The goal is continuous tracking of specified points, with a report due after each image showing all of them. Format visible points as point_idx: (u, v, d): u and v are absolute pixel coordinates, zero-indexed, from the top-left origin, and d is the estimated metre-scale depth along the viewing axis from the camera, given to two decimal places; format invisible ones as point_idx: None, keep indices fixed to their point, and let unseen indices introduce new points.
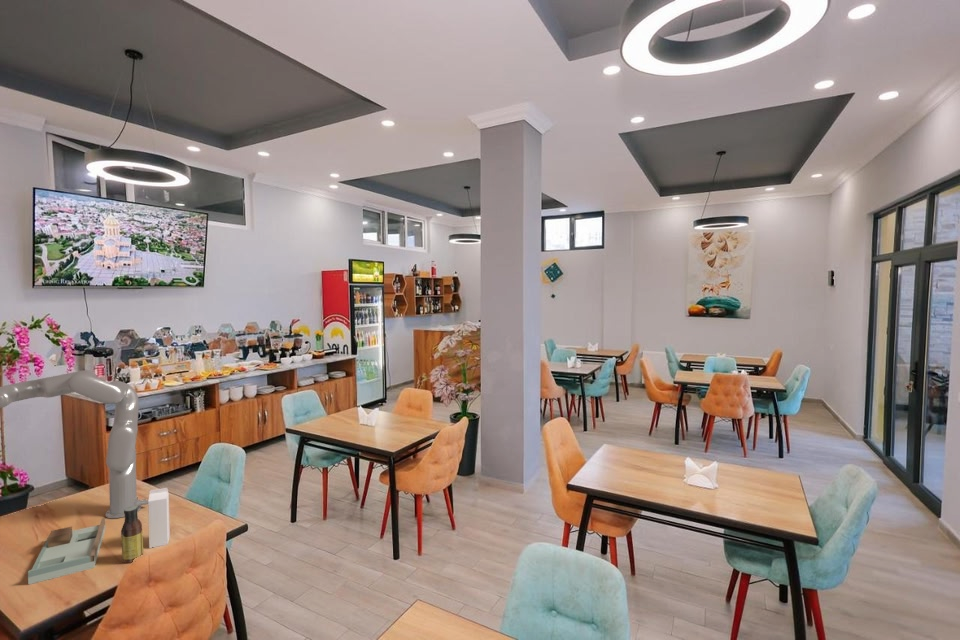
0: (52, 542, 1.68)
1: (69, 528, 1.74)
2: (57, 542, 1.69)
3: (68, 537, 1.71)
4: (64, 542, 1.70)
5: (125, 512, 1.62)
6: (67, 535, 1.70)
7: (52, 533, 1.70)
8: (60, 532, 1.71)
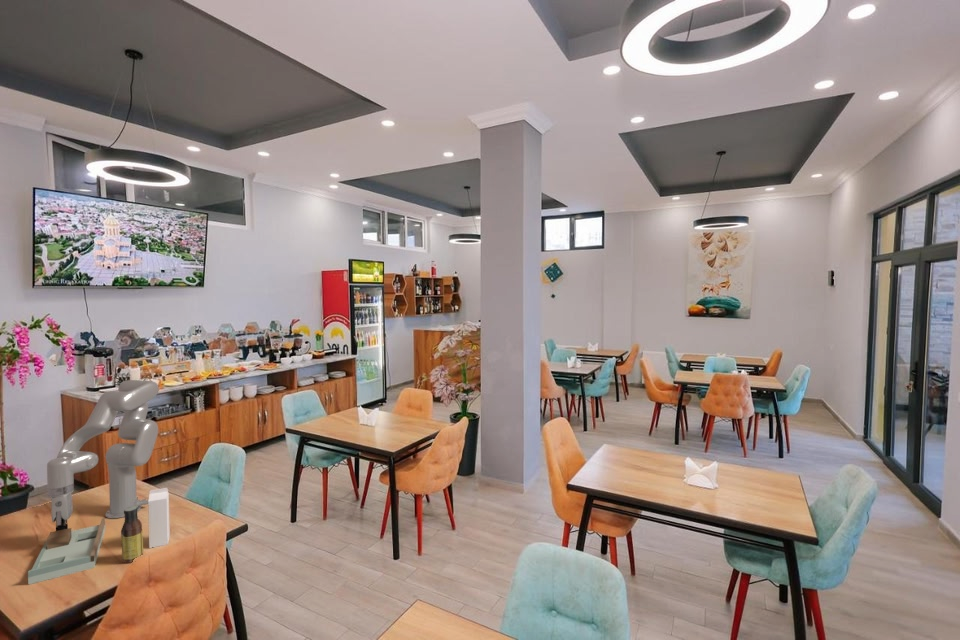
0: (51, 544, 1.67)
1: (68, 529, 1.73)
2: (56, 544, 1.68)
3: (67, 539, 1.70)
4: (63, 544, 1.69)
5: (125, 512, 1.62)
6: (66, 537, 1.69)
7: (51, 535, 1.69)
8: (59, 534, 1.70)
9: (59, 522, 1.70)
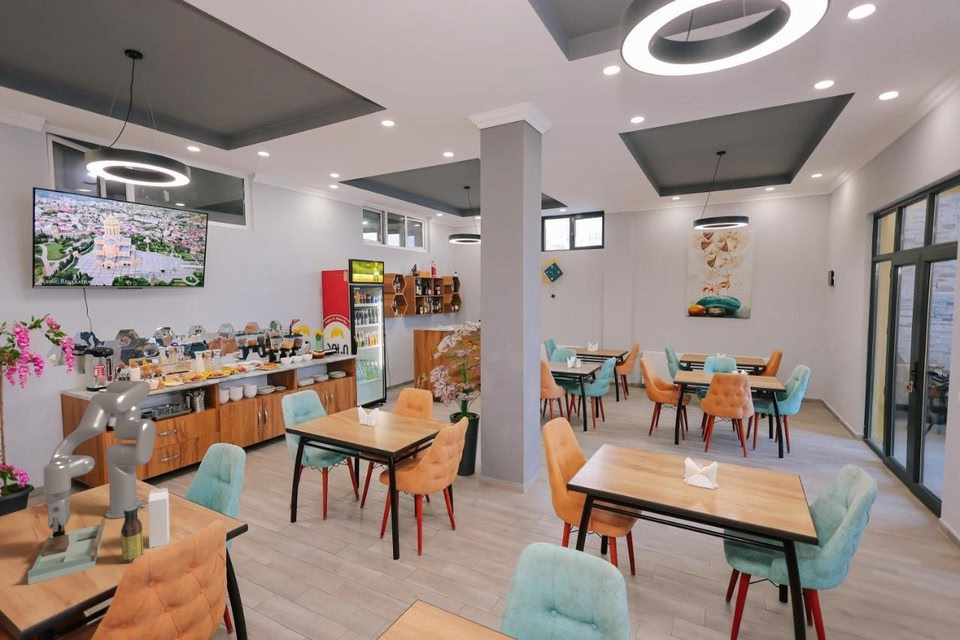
0: (48, 551, 1.62)
1: (65, 536, 1.68)
2: (53, 551, 1.63)
3: (64, 545, 1.65)
4: (60, 551, 1.64)
5: (125, 512, 1.62)
6: (63, 543, 1.65)
7: (48, 542, 1.64)
8: (56, 540, 1.65)
9: (56, 528, 1.66)
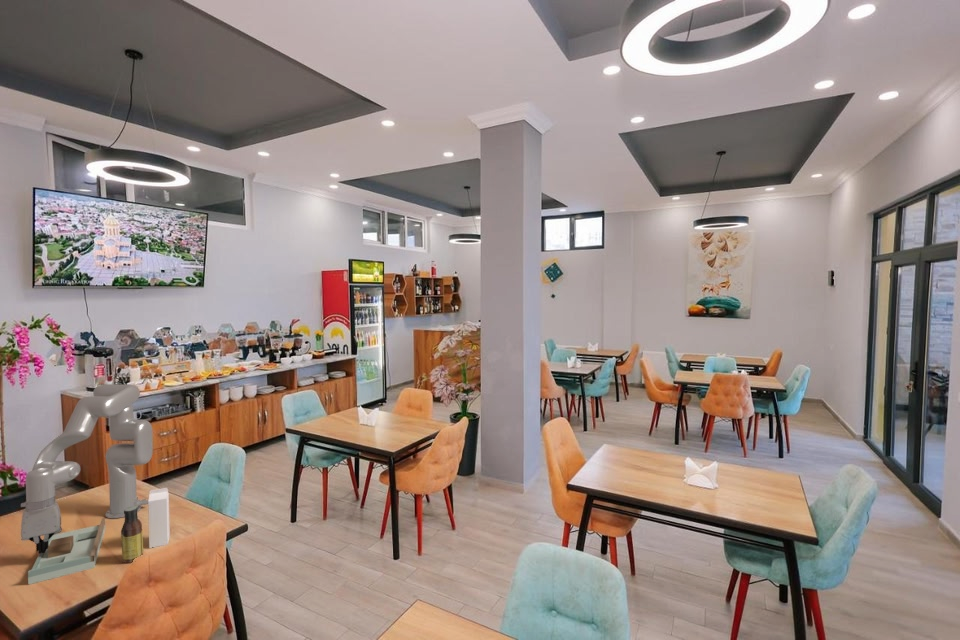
0: (53, 552, 1.62)
1: (70, 537, 1.67)
2: (58, 552, 1.62)
3: (69, 547, 1.64)
4: (65, 552, 1.63)
5: (125, 512, 1.62)
6: (68, 545, 1.64)
7: (53, 543, 1.63)
8: (61, 541, 1.64)
9: None
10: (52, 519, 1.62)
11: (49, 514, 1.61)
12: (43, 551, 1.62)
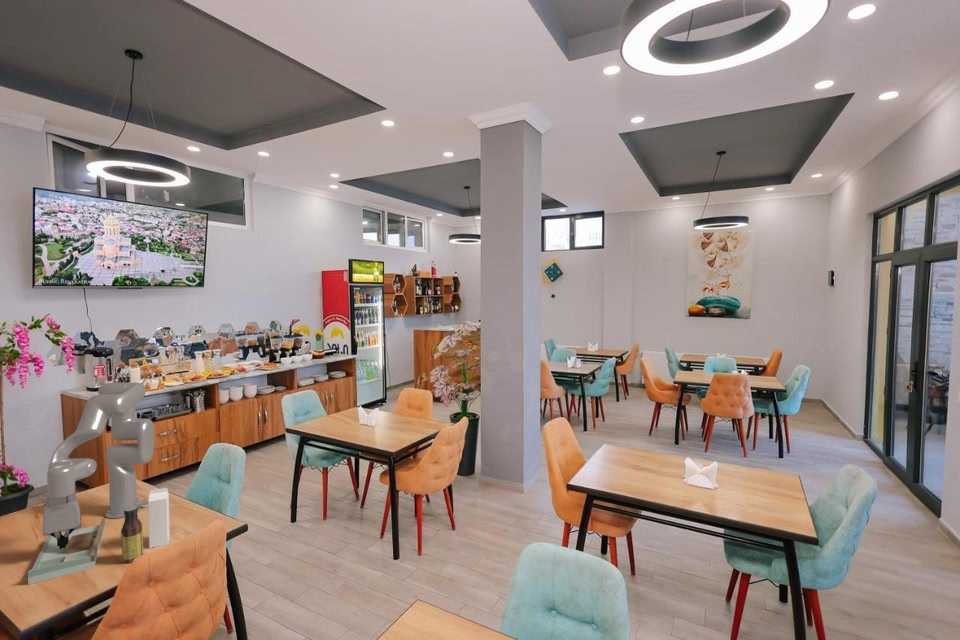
0: (72, 548, 1.64)
1: (89, 534, 1.70)
2: (77, 548, 1.65)
3: (88, 543, 1.67)
4: (84, 548, 1.66)
5: (125, 512, 1.62)
6: (87, 541, 1.66)
7: (72, 539, 1.66)
8: (80, 538, 1.67)
9: (43, 532, 1.63)
10: (73, 515, 1.65)
11: (70, 510, 1.65)
12: (64, 546, 1.65)
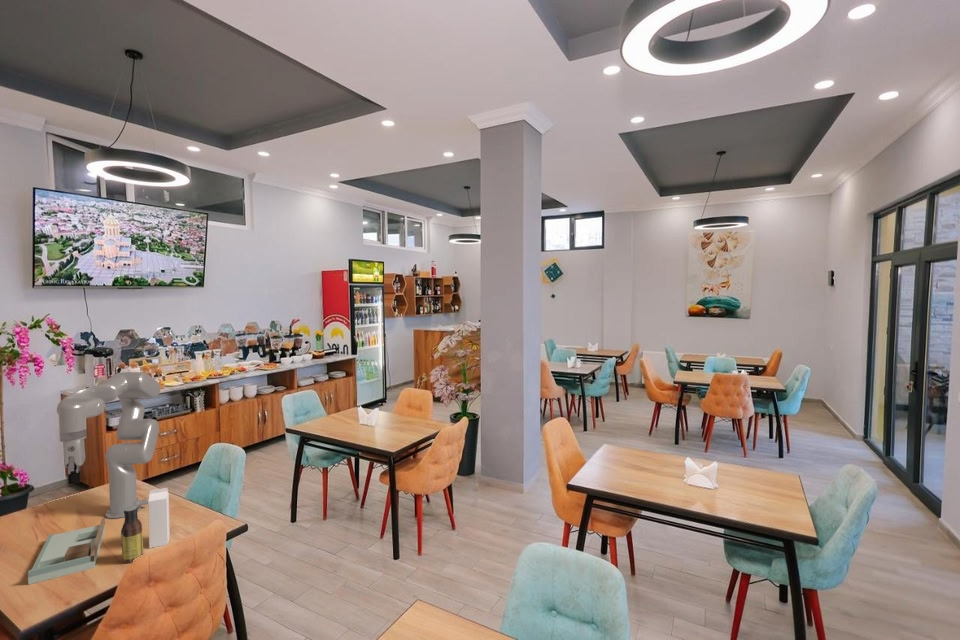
0: None
1: (87, 544, 1.63)
2: None
3: (86, 554, 1.59)
4: None
5: (125, 512, 1.62)
6: (85, 552, 1.59)
7: (69, 550, 1.59)
8: (78, 549, 1.60)
9: (72, 468, 1.64)
10: (84, 447, 1.72)
11: None
12: (80, 479, 1.70)
